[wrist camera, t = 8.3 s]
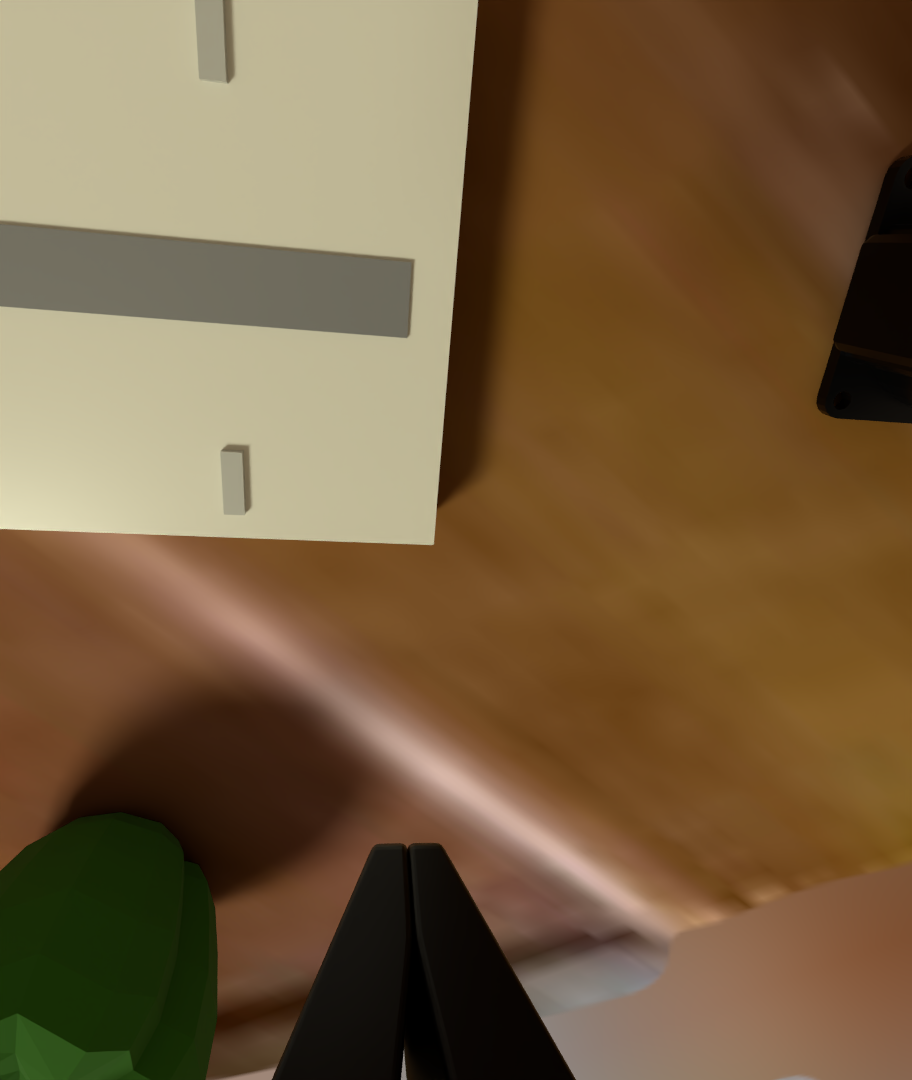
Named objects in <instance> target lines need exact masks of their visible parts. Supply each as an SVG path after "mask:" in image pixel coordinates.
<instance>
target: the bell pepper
mask: <svg viewBox="0 0 912 1080" xmlns="http://www.w3.org/2000/svg"><path fill="white" fill-rule="evenodd" d="M217 960H218V952H217V934H216V916H215V906H214V903H213V899H212V896H211V893H210V889H209V886H208V882H207V880H206V878H205V876H204V874H203V872H202V871H201V869H200V867H199V865H198V864H195V863H191V862H187V861H184V852H183V850H182V847H181V845H180V843H179V841H178V840H177V839H176V837H175V836H174V835H173V834H172V833H171V832H170V831H169V830H168V829H167V828H166V827H165V826H164V825H163V824H162V823H159V822H156V821H152V820H148V819H144V818H141V817H137V816H133V815H130V814H126V813H122V812H118V813H110V814H103V815H95V816H88V817H80V818H78V819H76V820H74V821H72V822H70V823H69V824H67V825H65V826H63V827H61V828H60V829H58V830H56V831H54V832H52V833H50V834H48V835H47V836H45V837H43V838H41V839H39V840H37V841H35V842H34V843H32V844H30V845H28V846H26V847H25V848H24V849H23V850H22V851H21V852H20V853H19V854H18V855H17V856H16V857H15V858H14V859H13V860H12V861H10V862H9V863H8V864H7V865H6V866H5V867H4V868H3V869H2V870H1V871H0V1080H205V1079H206V1074H207V1069H208V1063H209V1058H210V1053H211V1048H212V1043H213V1037H214V1032H215V1027H216V1022H217Z"/></svg>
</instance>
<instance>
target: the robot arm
mask: <svg viewBox="0 0 912 1080" xmlns="http://www.w3.org/2000/svg"><path fill="white" fill-rule="evenodd" d="M909 169H911V171H912V156H906V157H902V158H900V159H898V160H897V161H895V162H894V163H893V164H892V165H891V166H890V168H889V169H888V171H887V173H886V175H885V178H884V181H883V184H882V188H881V191H880V194H879V197H878V201H877V204H876V207H875V210H874V214H873V217H872V220H871V223H870V227H869V230H868V233H867V236H866V240H865V243H864V244H863V245H862V247H861V250H860V253H859V257H858V260H857V263H856V267H855V270H854V273H853V276H852V280H851V283H850V286H849V289H848V293H847V296H846V299H845V302H844V306H843V309H842V312H841V315H840V319H839V322H838V325H837V329H836V332H835V335H834V339H833V340H834V344H833V347H832V350H831V354H830V357H829V360H828V363H827V367H826V370H825V373H824V376H823V380H822V383H821V386H820V389H819V393H818V396H817V407H818V409H819V410H820V411H821V412H822V413H823V414H826V415H828V416H831V417H834V418H840V419H855V420H869V421H884V422H899V423H912V181H911V183H910V185H909V186H908V187H906V185H905V183H904V181H905V175H906V174H907V172H908V170H909ZM840 392H842V399H841V400H840V402H839V403H838V404H837V405H835V406H834V399H835V397H836V395H838V394H839V393H840ZM403 1051H404V1053H405V1065H406V1077H407V1080H576V1079H575V1077H574V1076H573V1074H572V1072H571V1070H570V1069H569V1067H568V1065H567V1063H566V1062H565V1060H564V1058H563V1056H562V1055H561V1053H560V1051H559V1050H558V1048H557V1046H556V1044H555V1042H554V1041H553V1039H552V1037H551V1035H550V1033H549V1032H548V1030H547V1028H546V1026H545V1025H544V1023H543V1021H542V1019H541V1018H540V1016H539V1014H538V1012H537V1011H536V1009H535V1007H534V1005H533V1004H532V1002H531V1000H530V998H529V997H528V995H527V993H526V991H525V990H524V988H523V986H522V984H521V983H520V981H519V979H518V977H517V976H516V974H515V972H514V970H513V969H512V967H511V965H510V963H509V962H508V960H507V958H506V956H505V954H504V953H503V951H502V949H501V947H500V946H499V944H498V942H497V940H496V939H495V937H494V935H493V933H492V932H491V930H490V928H489V926H488V925H487V923H486V921H485V919H484V918H483V916H482V914H481V912H480V911H479V909H478V907H477V905H476V904H475V902H474V900H473V898H472V897H471V895H470V893H469V891H468V890H467V888H466V886H465V884H464V882H463V881H462V879H461V877H460V875H459V874H458V872H457V870H456V868H455V867H454V865H453V863H452V861H451V860H450V858H449V856H448V854H447V853H446V851H445V849H444V848H443V847H442V845H440V844H438V843H413V844H411V845H409V847H408V849H407V847H406V845H404V844H401V843H391V844H376V845H375V846H374V847H373V848H372V850H371V852H370V854H369V856H368V858H367V861H366V863H365V865H364V868H363V870H362V872H361V875H360V877H359V879H358V882H357V884H356V886H355V889H354V891H353V893H352V895H351V898H350V900H349V902H348V905H347V907H346V909H345V912H344V914H343V916H342V919H341V921H340V923H339V926H338V928H337V930H336V932H335V935H334V937H333V939H332V942H331V944H330V946H329V949H328V951H327V953H326V956H325V958H324V960H323V962H322V965H321V967H320V969H319V972H318V974H317V976H316V979H315V981H314V983H313V986H312V988H311V990H310V993H309V995H308V997H307V999H306V1002H305V1004H304V1006H303V1009H302V1011H301V1013H300V1016H299V1018H298V1020H297V1023H296V1025H295V1027H294V1030H293V1032H292V1034H291V1036H290V1039H289V1041H288V1043H287V1046H286V1048H285V1050H284V1053H283V1055H282V1057H281V1060H280V1062H279V1064H278V1066H277V1069H276V1071H275V1073H274V1076H273V1079H272V1080H401V1072H402V1062H403Z"/></svg>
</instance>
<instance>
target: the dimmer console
mask: <svg viewBox="0 0 912 1080" xmlns="http://www.w3.org/2000/svg"><path fill="white" fill-rule="evenodd" d="M477 8H478V0H0V529H20V530H47V531H74V532H101V533H127V534H154V535H181V536H208V537H235V538H261V539H288V540H315V541H342V542H369V543H395V544H422V545H434V533H435V521H436V509H437V496H438V484H439V472H440V460H441V448H442V435H443V423H444V411H445V399H446V386H447V374H448V362H449V350H450V338H451V325H452V313H453V301H454V289H455V277H456V264H457V252H458V240H459V228H460V216H461V203H462V191H463V179H464V167H465V154H466V142H467V130H468V118H469V106H470V93H471V81H472V69H473V57H474V45H475V32H476V20H477Z"/></svg>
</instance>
